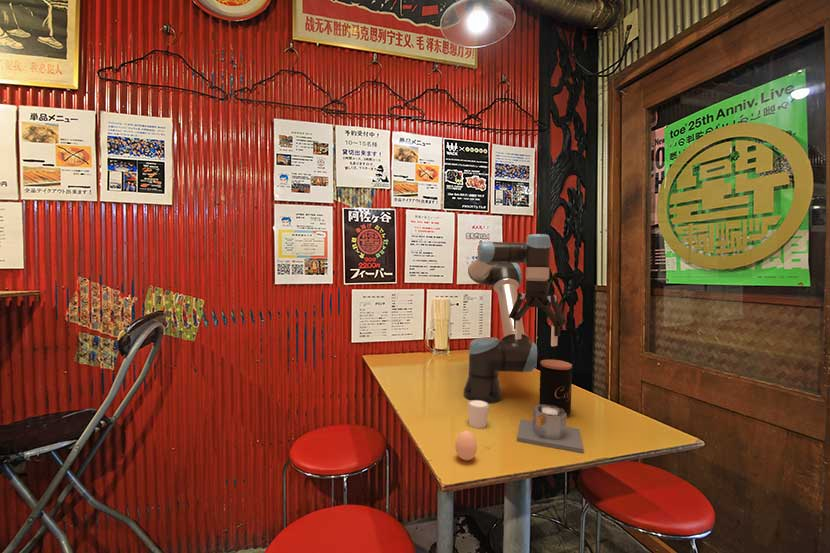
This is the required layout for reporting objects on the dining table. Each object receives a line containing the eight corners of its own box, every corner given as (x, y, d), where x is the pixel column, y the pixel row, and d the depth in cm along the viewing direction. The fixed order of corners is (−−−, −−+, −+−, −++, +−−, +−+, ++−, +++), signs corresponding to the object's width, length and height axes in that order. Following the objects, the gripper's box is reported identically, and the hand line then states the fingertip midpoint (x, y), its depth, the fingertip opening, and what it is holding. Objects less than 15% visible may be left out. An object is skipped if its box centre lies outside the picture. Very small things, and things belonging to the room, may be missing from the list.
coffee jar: (556, 421, 121) (557, 368, 121) (532, 409, 131) (534, 361, 130) (577, 415, 126) (578, 365, 126) (553, 405, 136) (554, 358, 135)
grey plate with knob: (516, 441, 106) (517, 413, 106) (520, 422, 119) (520, 398, 119) (583, 453, 100) (584, 424, 100) (579, 432, 113) (579, 406, 113)
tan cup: (465, 420, 120) (465, 399, 120) (485, 419, 121) (485, 399, 121) (469, 429, 113) (470, 407, 113) (491, 428, 114) (491, 407, 114)
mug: (552, 443, 102) (552, 419, 102) (524, 432, 109) (525, 409, 109) (570, 433, 109) (570, 411, 109) (543, 423, 116) (544, 402, 116)
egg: (452, 462, 94) (453, 433, 93) (457, 452, 99) (458, 425, 99) (474, 467, 91) (475, 437, 91) (478, 456, 97) (479, 428, 97)
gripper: (578, 281, 113) (576, 347, 114) (512, 278, 133) (511, 335, 133) (567, 281, 109) (565, 350, 109) (500, 278, 128) (498, 337, 128)
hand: (535, 342), depth 121 cm, fingers open, 13 cm apart
